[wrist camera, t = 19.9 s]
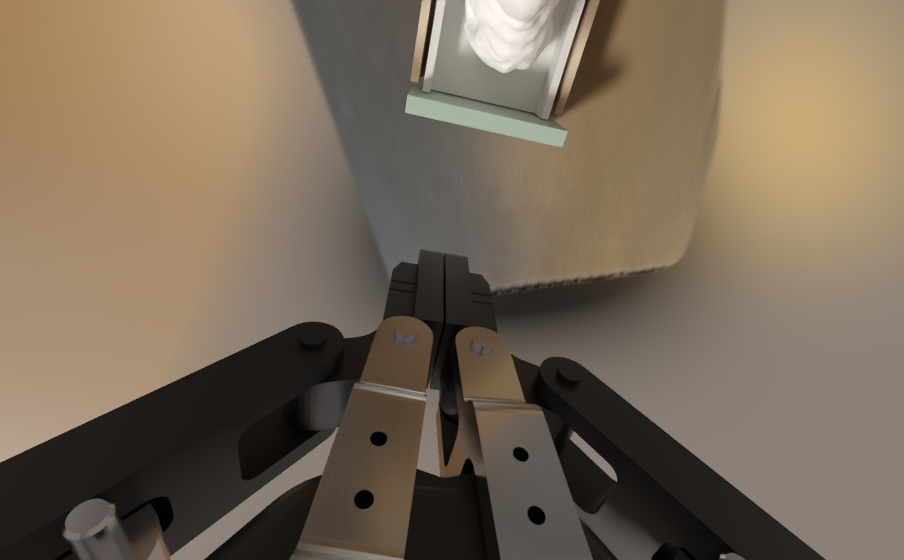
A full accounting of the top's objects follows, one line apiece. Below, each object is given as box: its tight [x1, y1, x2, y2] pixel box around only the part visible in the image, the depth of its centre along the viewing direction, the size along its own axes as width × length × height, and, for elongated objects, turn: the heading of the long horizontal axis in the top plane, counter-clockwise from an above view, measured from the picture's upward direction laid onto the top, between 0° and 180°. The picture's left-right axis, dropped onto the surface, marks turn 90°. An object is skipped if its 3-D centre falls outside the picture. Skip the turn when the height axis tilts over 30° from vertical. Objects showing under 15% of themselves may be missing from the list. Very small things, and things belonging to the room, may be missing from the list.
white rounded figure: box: [464, 0, 560, 73], centre depth 26 cm, size 6×8×12 cm
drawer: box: [405, 0, 585, 147], centre depth 30 cm, size 14×12×6 cm
